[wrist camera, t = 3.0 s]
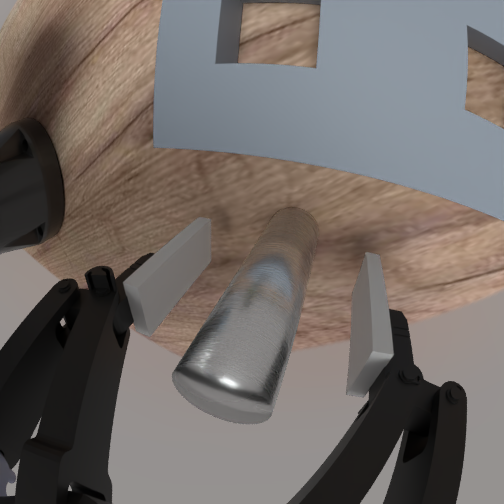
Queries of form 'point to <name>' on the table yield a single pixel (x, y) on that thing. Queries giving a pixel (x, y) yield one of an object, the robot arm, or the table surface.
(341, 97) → the socket board
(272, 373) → the pin
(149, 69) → the table surface
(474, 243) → the table surface
